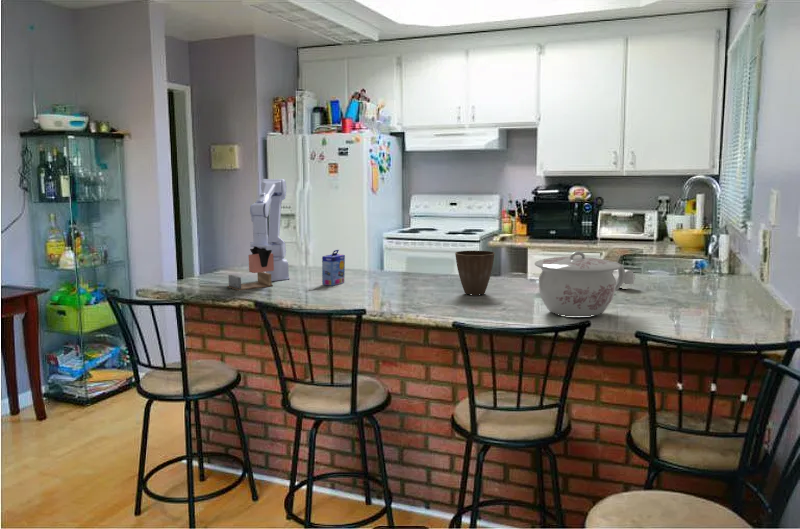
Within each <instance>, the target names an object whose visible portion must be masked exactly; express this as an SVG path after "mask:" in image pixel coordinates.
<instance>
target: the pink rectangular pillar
mask: <svg viewBox="0 0 800 529" xmlns="http://www.w3.org/2000/svg"><path fill="white" fill-rule="evenodd" d="M248 270H249V271H248V272H249V273H253V274H256V273H258V272H265V273H266V272H267V271H274V260H273V254H272V253H271V254H270V256H269V259H268V264H267V267H262V266H261V262H260V256H259V254H252V253H251V254H248Z"/></svg>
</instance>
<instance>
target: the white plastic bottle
mask: <svg viewBox="0 0 800 529" xmlns="http://www.w3.org/2000/svg"><path fill="white" fill-rule="evenodd" d="M624 270H625V279H624V282H623V283H625V284H633V286H634V283H635V280H636V276H635V274H634V272H633V270H632V269H631V270H630V269H624ZM612 274H613V276H614V278H615V280H616V282H617V279H618V276H619V272H618V270H614V271H613V273H612ZM621 286H622V285H621Z"/></svg>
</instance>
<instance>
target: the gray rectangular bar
mask: <svg viewBox="0 0 800 529" xmlns="http://www.w3.org/2000/svg"><path fill="white" fill-rule="evenodd" d="M241 284H242V278H241V277H240V276H238V275H237V276H236V275H234V274H228V286H231V287H234V288H237V289H241Z"/></svg>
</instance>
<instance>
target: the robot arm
mask: <svg viewBox="0 0 800 529" xmlns="http://www.w3.org/2000/svg"><path fill="white" fill-rule="evenodd" d="M260 186H261V187H260V188H261V193H259V194H258V196H257V197H256V200H255V201H254V203H252V204H250V207H249V214H250V218H251V219H250V220H251V222H252V239H253V240H252V242H250V243H249V244H250V246H249V247H250V250H249V251H250V252H251V254H259V256H260V262H261V266H262V267H267V264H268V259H269V256H270V254H271V253H272V254H273V260H274V271H267V272H265V273H269V274H271V282H276V281H277V282H278V281H284V280H290V272H289V271H290V270H289V262H288V260H287V258H285V257H286V255H287V250H286V242H285V241H284V239H282V237H280V234H281V232H280V231H281V214H282V202H283V201H284V200H285V199H286V197H287V182H286V180H285V179H284V178H263V179H262V180H261V184H260ZM268 216H269V218H268ZM268 219H269V220H268ZM268 222H269V223H268Z"/></svg>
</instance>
